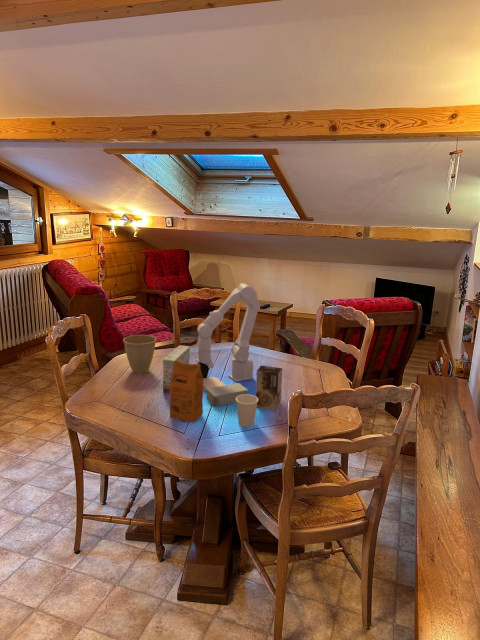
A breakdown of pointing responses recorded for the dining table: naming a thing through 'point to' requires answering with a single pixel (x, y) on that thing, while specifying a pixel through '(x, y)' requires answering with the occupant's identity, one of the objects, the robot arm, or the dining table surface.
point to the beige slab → (225, 394)
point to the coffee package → (186, 392)
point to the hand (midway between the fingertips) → (204, 377)
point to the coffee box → (268, 387)
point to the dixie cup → (246, 409)
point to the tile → (211, 383)
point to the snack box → (178, 354)
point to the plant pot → (140, 352)
